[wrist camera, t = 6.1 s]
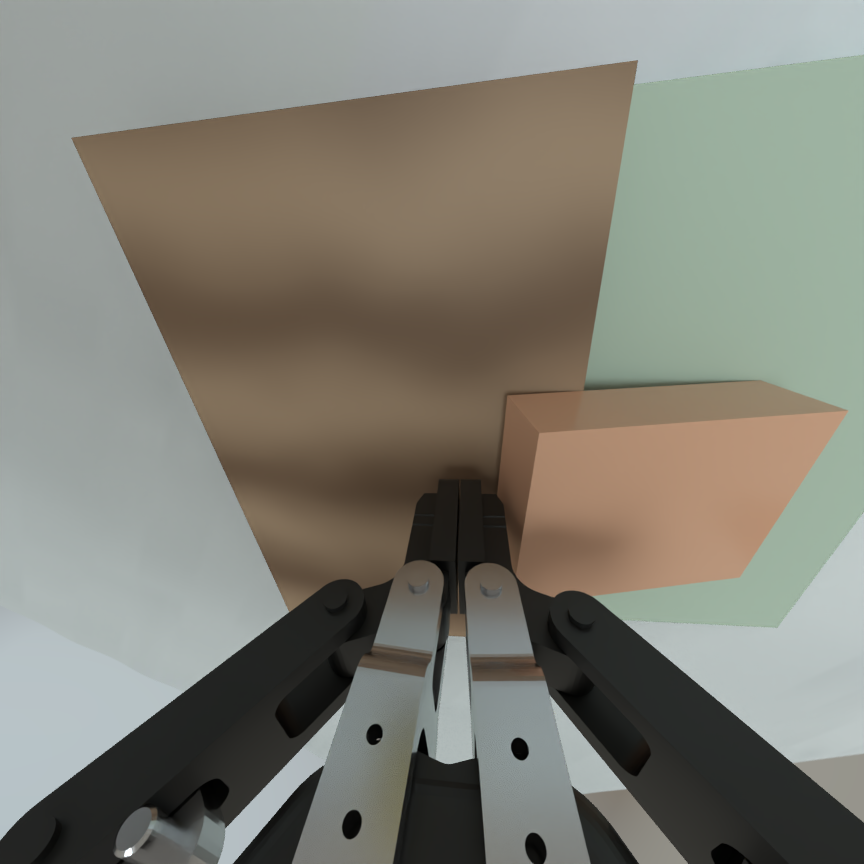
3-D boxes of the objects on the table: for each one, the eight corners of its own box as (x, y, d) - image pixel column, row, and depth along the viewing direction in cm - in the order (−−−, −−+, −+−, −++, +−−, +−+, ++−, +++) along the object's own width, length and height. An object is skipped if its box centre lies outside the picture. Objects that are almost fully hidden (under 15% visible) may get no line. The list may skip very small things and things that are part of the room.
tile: (507, 395, 10) (539, 433, 8) (760, 380, 11) (848, 410, 9) (491, 550, 14) (510, 606, 12) (687, 529, 15) (739, 577, 13)
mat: (616, 95, 9) (625, 85, 8) (1187, 23, 7) (1242, 6, 7) (541, 606, 19) (543, 616, 19) (768, 616, 18) (777, 627, 18)
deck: (137, 155, 10) (71, 137, 9) (604, 96, 9) (637, 60, 7) (310, 595, 21) (296, 626, 19) (535, 605, 19) (542, 641, 18)
